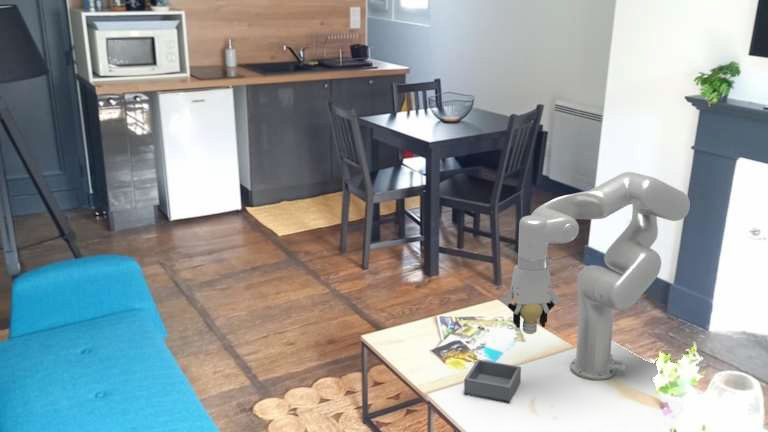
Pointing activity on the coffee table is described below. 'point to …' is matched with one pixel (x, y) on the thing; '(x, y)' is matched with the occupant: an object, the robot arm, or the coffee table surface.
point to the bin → (492, 381)
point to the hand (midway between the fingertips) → (529, 324)
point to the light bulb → (530, 316)
